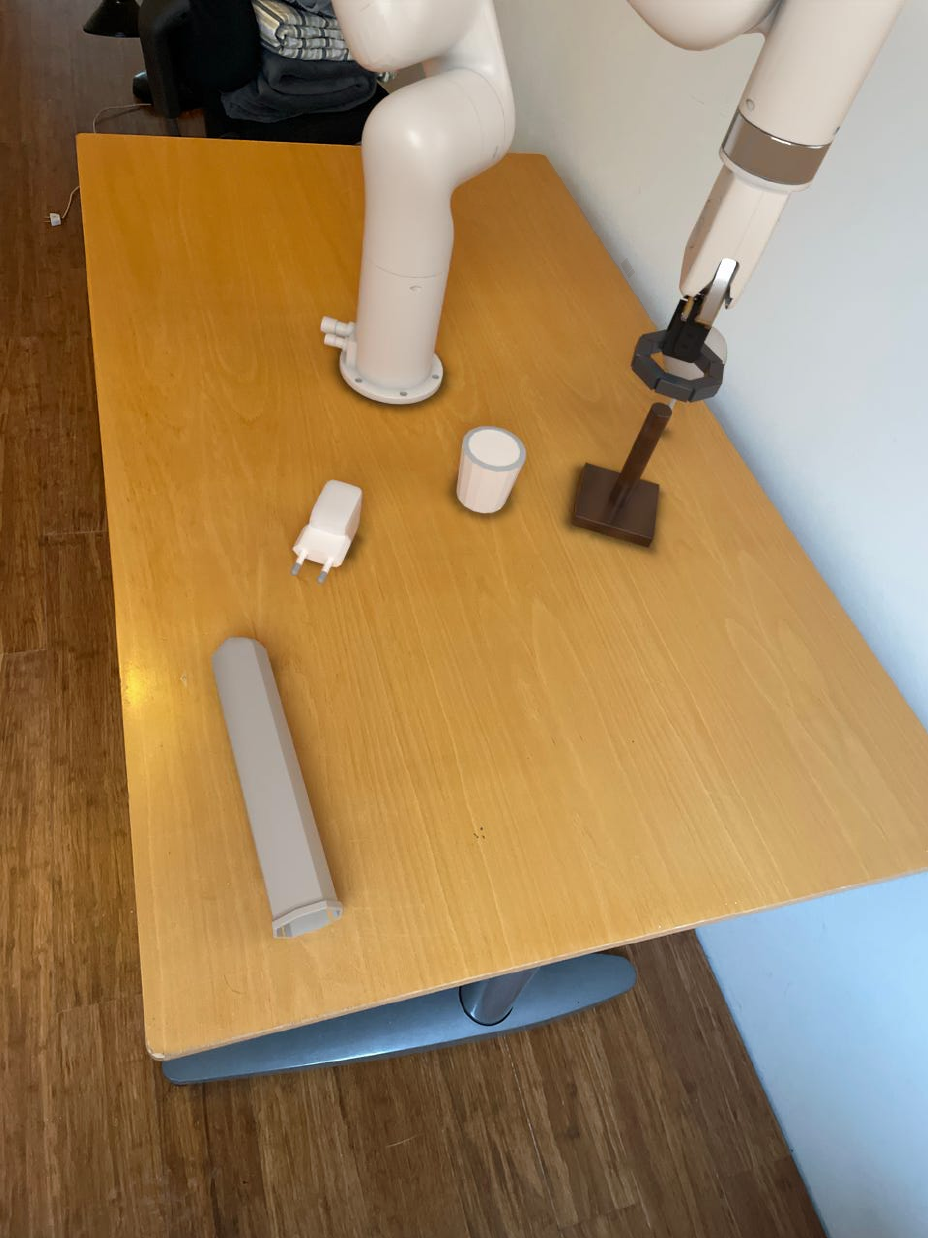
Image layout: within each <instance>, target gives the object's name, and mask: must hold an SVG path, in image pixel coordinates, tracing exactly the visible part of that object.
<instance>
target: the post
mask: <svg viewBox="0 0 928 1238" xmlns="http://www.w3.org/2000/svg"><path fill="white" fill-rule="evenodd" d="M672 415H673V409H672V410H671V408H670V407H669V406H668V404H666V403H663V402H660V401H659V402H658V401H657V402H653V403H652V404H651V406H650V407H649V410H648V412H647V413H646V416H645V418H644V420H643V423H642V425H641V428H640V429H639V431H638V434H637V436H636V438H635V440H634V442H633V444H632V447H631V448H630V450H629V452H628V455H627V457H626V460H625V461H624V464H623V466H622V468H621V471H620V472H619V471H617V470H613V469H609V468H606V467H602V466H599V465H595V464H592V463H589V462H585V463H584V466H583V468H582V470H581V474H580V479H579V484H578V488H577V494H576V499H575V504H574V509H573V514H572V519H571V526H575V527H578V528H582V529H585V530H588V531H591V532H595V533H598V534H602V535H605V536H607V537H612V538H615V539H618V540H622V541H624V542H628V543H632V544H635V545H638V546H642V547H645V548H647V549H648V548H650V546H651V544H652V543H653V541H654V539H655V530H656V520H657V511H658V502H659V493H660V484H659V483H656V482H652V481H649V480H645V479H643V478H641V477H642V476H643V474H644V471H645V469H646V468H647V465H648V463H649V461H650V460H651V457H652V456H653V453H654V451H655V450H656V447H657V446H658V443H659V441H660V439H661V437H662V435H663V433H664V431H665V430H666V427H667V425H668V423H669V421H670V419H671V417H672Z"/></svg>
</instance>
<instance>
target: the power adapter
mask: <svg viewBox="0 0 928 1238" xmlns="http://www.w3.org/2000/svg"><path fill="white" fill-rule="evenodd" d="M362 505H363V491H362V489H361V488H360V487H358V486H355V485H353V484H351V483H347V482H343V481H340V480H338V479H337V480H336V479H330V480H327V481H326V483H325V485H324V486H323V487H322V490H321V492H320V493H319V496H318V497H317V500H316V502H315V504H314V506H313V508H312V510H311V512H310V515H309V522H308V523H307V524H305V525H304V526H303V527H302V529H301V531H300V533H299V534H298V537H297V539H296V540H295V543H294V544H293V547H292V551H293V552H294V553H295V554H296V556H297V557H296V560H295V562H294V563H293V565H292V567H291V568H290V571H289V572H290V575H291V576H293V577H297V575H299V572H300V570H301V568H302V566H303V563H304V561H305V560H309V561H312V562H315V563H318V564H322V565H323V566H322V568H321V570H320V572H319V573H318V576H317V578H316V582H317V584H319V585H322V584H324V583H325V581H326V579H327V577H328V574H329V572H330V569H331V568H337V567H339V566H341V565H342V564H343V562H344V560H345V557H346V556H347V553H348V551H349V550H350V547H351V545H352V542H353V540H354V539H355V536H356V533H357V531H358V529H359V526H360V521H361V514H362Z"/></svg>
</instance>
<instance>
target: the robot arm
mask: <svg viewBox="0 0 928 1238" xmlns="http://www.w3.org/2000/svg"><path fill="white" fill-rule="evenodd" d="M906 1H907V0H626V2H627V3H628V5H630V7H631V8H632V9H633V10H634V11H635V12H636V13H637V15H638V16H639V17H640V18H641V19H642V21H644V23H645V24H646V25H647V26H648V27H649V28H651V30H653V32H654V33H656V35H658V36H659V37H660V38H662V39H663V40H665V41H666V42H668V43H669V44H671V45H673V46H674V47H677V48H680V49H682V50H684V51H685V50H686V51H692V52H703V51H704V52H705V51H709V50H713V49H716V48H718V47H720V46H722V45H725V44H727V43H729V42H731V41H732V40H734V39H736V38H738V37H740V36H742V35H752V34H762V35H763V38H764V42H763V45H762V47H761V49H760V52H759V54H758V56H757V59H756V61H755V64H754V66H753V67H752V70H751V73H750V75H749V78H748V79H747V82H746V85H745V87H744V90H743V92H742V94H741V97H740V99H739V102H738V105H737V107H736V108H735V111H734V113H733V116H732V118H731V120H730V123H729V124H728V127H727V128H728V129H727V130H726V132H725V135H724V137H723V140H722V142H721V145H720V147H719V149H718V156H719V158H720V160H721V162H722V163H723V165H722V167H721V169H720V171H719V173H718V175H717V177H716V179H715V181H714V184H713V185H712V187H711V190H710V192H709V195H708V196H707V198H706V201H705V203H704V205H703V207H702V210H701V211H700V214H699V216H698V217H697V220H696V222H695V224H694V227H693V229H692V231H691V232H690V234H689V237H688V240H687V242H686V245H685V247H684V252H683V258H682V264H681V269H680V276H679V283H678V289H679V292H680V294H681V295H682V298H679V301H678V303H677V305H676V307H675V309H674V312H673V314H672V316H671V317H670V320H669V323H668V325H667V327H666V330H667V331H668V332H669V330H670V332H669V334H668V337H667V339H666V341H665V344H664V346H663V348H662V352H661V354H662V356H663V355H665V356H668V357H672V358H675V359H678V360H681V361H684V362H687V363H694V362H695V360H696V358H697V356H698V354H699V352H700V350H701V348H702V346H703V344H704V342H705V340H706V338H707V336H708V334H709V332H710V330H711V328H712V326H713V325H714V323H715V320H716V318H717V316H718V314H719V312H720V310H721V309H722V306H723V304H724V309H725V310H730V309H732V308H734V307H735V306H737V304H738V302H739V300H740V298H741V297H742V295H743V294H744V292H745V290H746V287H747V286H748V284H749V282H750V281H751V278H752V276H753V274H754V272H755V270H756V268H757V266H758V265H759V263H760V260H761V258H762V256H763V254H764V252H765V250H766V248H767V246H768V244H769V242H770V240H771V237H772V235H773V233H774V231H775V230H776V227H777V225H778V223H779V222H780V220H781V216H782V214H783V212H784V210H785V208H786V205H787V203H788V201H789V198H791V195H792V193H797V192H803V191H805V190H807V189H808V188H810V186H811V185H812V183H813V180H814V178H815V176H816V175H817V173H818V170H819V168H820V167H821V165H822V163H823V161H824V159H825V157H826V155H827V154H828V151H829V149H830V148H831V146H832V143H833V141H834V140H835V138H836V136H837V135H838V132H839V130H840V128H841V126H842V125H843V122H844V121H845V119H846V117H847V115H848V113H849V111H850V109H851V108H852V105H853V103H854V101H855V99H856V98H857V96H858V94H859V92H860V90H861V88H862V86H863V84H864V82H865V80H866V79H867V77H868V75H869V73H870V71H871V69H872V67H873V65H874V64H875V61H876V60H877V58H878V56H879V54H880V52H881V50H882V48H883V46H884V45H885V42H886V41H887V39H888V37H889V35H890V33H891V31H892V29H893V27H894V25H895V24H896V21H897V19H898V18H899V16H900V14H901V12H902V10H903V8H904V6H905V3H906ZM330 2H331V6H332V8H333V12H334V15H335V18H336V20H337V24H338V27H339V31H340V32H341V36H342V38H343V41H344V43H345V45H346V48H347V50H348V51H349V53H350V54H351V57H352V58H353V59H354V61H355V62H356V63H357V64H358V65H360V66H361V67H362V68H363V69H365V70H367V71H370V72H375V73H388V72H394V71H398V70H402V69H405V68H408V67H411V66H414V65H416V64H419V63H421V67H422V70H423V73H424V76H425V78H423V79H420V80H418V81H415V82H412V83H410V84H408V85H405V86H403V87H400V88H399V89H396V90H394V91H392V92H391V93H389V94H388V95H387V96H385V97H384V98H382V99H381V100H380V101H379V102H378V103H377V104H376V105H375V106H374V108H372V110H371V112H370V114H369V115H368V116H367V119H366V121H365V124H364V126H363V130H362V134H361V143H360V145H361V147H360V148H361V162H362V173H363V182H364V223H363V236H362V249H361V262H360V273H359V283H358V294H357V307H356V319H355V321H352V320H350V321H349V322H348V323H347V322H345V321H341V320H339V319H336V318H333V317H330V316H326V315H324V316H323V317H322V319H321V323H320V333H324V334H325V335H324V338H323V344H324V345H326V346H329V347H333V348H338V349H341V352H340V355H339V365H338V366H339V371H340V374H341V376H342V378H343V380H344V381H345V382H346V383H347V385H348V386H349V387H351V389H352V390H354V391H355V392H357V393H358V394H360V395H362V396H364V397H365V398H367V399H370V400H373V401H376V402H379V403H384V404H390V405H409V404H415V403H419V402H423V401H425V400H427V399H429V398H430V397H432V396H433V395H435V394H436V392H438V390H439V389H440V387H441V385H442V381H443V376H444V367H443V363H442V362H441V359H440V358H439V356H438V355H437V354H436V352H435V350H436V349H435V348H436V343H437V338H438V334H439V333H438V332H439V327H440V321H441V317H442V316H441V315H442V309H443V305H444V299H445V294H446V288H447V283H448V278H449V272H450V268H451V267H450V266H451V261H452V254H453V250H454V249H453V248H454V241H455V240H454V239H455V225H454V224H455V223H454V218H453V215H452V209H451V200H452V195H453V193H454V192H455V190H456V189H457V188H458V187H460V186H462V185H463V184H465V183H467V181H470V180H471V179H473V178H475V177H477V176H478V175H481V174H482V173H484V172H485V171H487V170H489V169H491V168H492V167H494V166H495V165H497V164H498V163H499V162H500V161H501V160H502V159H503V158H504V157H505V156H506V155H507V153H508V152H509V149H510V147H511V146H512V143H513V140H514V137H515V131H516V121H517V120H516V104H515V98H514V92H513V87H512V83H511V79H510V78H511V77H510V74H509V69H508V64H507V59H506V54H505V50H504V46H503V42H502V37H501V31H500V27H499V21H498V18H497V13H496V9H495V4H494V0H330Z"/></svg>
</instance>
